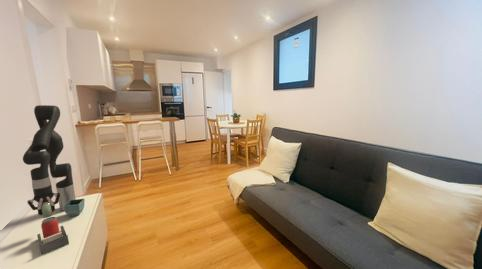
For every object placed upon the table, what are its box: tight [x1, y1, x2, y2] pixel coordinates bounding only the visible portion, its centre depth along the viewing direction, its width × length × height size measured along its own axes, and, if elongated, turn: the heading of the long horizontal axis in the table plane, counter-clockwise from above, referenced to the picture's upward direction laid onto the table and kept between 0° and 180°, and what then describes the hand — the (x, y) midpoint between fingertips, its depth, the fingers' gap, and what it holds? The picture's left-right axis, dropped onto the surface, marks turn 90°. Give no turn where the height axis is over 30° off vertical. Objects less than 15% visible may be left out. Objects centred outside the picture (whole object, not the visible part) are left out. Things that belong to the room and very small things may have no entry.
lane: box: [37, 225, 70, 256], centre depth 109 cm, size 18×11×5 cm, turn 49°
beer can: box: [41, 216, 61, 239], centre depth 111 cm, size 7×7×12 cm
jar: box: [41, 202, 54, 219], centre depth 115 cm, size 4×4×9 cm
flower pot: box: [63, 198, 86, 217], centre depth 135 cm, size 9×9×9 cm
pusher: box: [41, 231, 63, 245], centre depth 108 cm, size 1×8×4 cm, turn 139°
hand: (47, 212), depth 116 cm, fingers closed on jar, 4 cm apart
